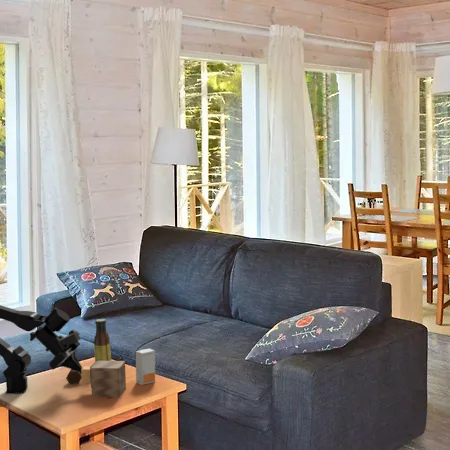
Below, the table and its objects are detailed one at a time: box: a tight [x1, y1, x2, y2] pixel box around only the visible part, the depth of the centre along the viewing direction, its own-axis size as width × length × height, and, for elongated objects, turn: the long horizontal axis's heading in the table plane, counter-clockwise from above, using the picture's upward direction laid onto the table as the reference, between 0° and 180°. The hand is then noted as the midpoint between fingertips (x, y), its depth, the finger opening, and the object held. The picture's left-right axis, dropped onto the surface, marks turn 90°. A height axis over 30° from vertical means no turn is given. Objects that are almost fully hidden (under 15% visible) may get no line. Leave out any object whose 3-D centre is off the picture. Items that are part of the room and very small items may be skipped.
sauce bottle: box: [93, 318, 112, 362], centre depth 287 cm, size 7×6×20 cm
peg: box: [81, 365, 92, 384], centre depth 259 cm, size 10×4×5 cm, turn 84°
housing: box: [90, 360, 127, 398], centre depth 259 cm, size 11×9×10 cm
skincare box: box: [135, 348, 156, 386], centre depth 270 cm, size 6×4×12 cm
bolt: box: [65, 369, 82, 385], centre depth 277 cm, size 6×5×15 cm
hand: (82, 371), depth 260 cm, fingers closed, pressing on peg
